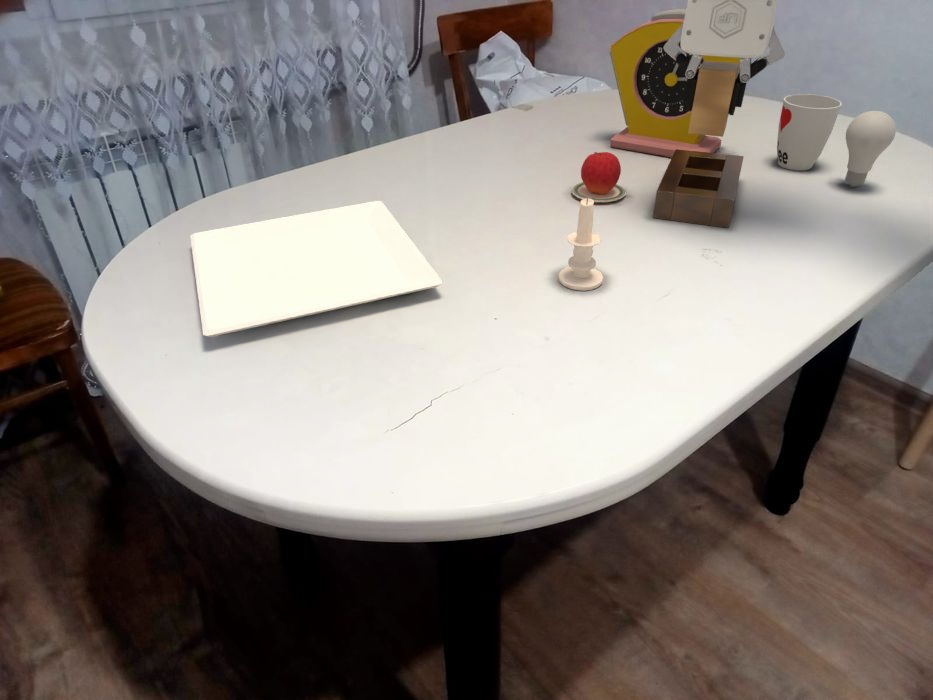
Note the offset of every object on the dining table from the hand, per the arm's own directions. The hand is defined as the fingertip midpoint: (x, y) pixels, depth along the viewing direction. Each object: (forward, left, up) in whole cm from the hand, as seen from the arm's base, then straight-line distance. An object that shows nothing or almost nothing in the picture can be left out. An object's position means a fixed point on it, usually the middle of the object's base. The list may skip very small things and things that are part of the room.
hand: (711, 108), depth 85 cm
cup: (-13, -23, -14) cm, 30 cm away
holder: (0, -4, -14) cm, 14 cm away
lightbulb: (-21, -16, -14) cm, 30 cm away
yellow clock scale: (+8, -25, -14) cm, 30 cm away
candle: (+10, +25, -14) cm, 30 cm away
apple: (+14, -1, -14) cm, 20 cm away
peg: (0, 0, -3) cm, 3 cm away
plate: (+42, +34, -14) cm, 56 cm away
